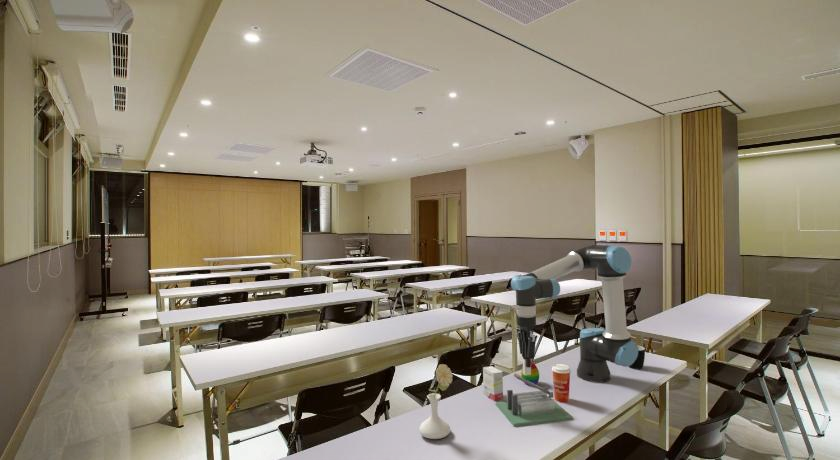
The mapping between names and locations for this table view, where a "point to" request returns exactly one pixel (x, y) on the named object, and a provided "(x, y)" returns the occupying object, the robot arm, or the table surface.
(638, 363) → the mug
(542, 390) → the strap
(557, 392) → the paper cup
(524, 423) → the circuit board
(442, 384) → the flower in vase
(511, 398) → the lug posts
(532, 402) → the block
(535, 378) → the decorative egg
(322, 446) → the table surface
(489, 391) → the ink box
